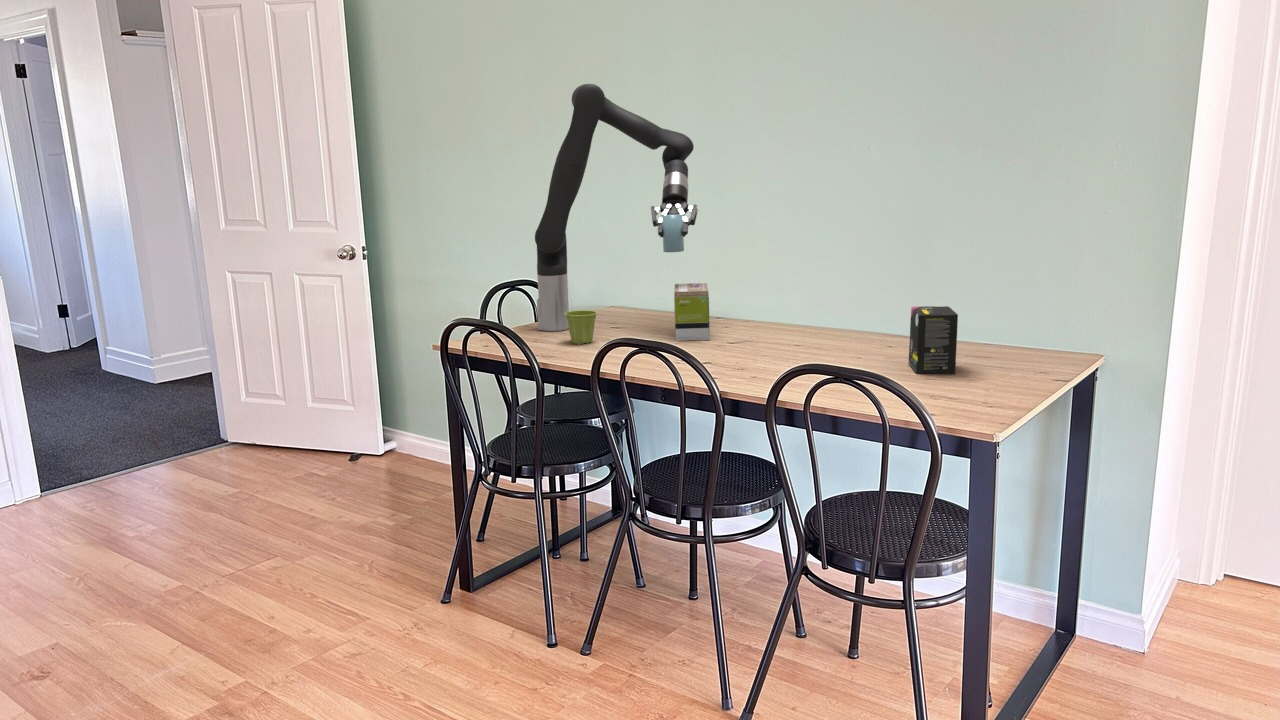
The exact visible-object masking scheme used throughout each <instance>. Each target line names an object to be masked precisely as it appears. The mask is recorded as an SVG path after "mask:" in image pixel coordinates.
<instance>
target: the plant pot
mask: <svg viewBox="0 0 1280 720" xmlns="http://www.w3.org/2000/svg"><path fill="white" fill-rule="evenodd" d="M565 315H566V318H567V320H568V325H569V329H568V331H569V335H570V341H571V343H572V344H575V345H577V344H579V345H583V344H590V343H589V342H591V343H592V342H593V341H594V333H595V332H594V329H595V323H596V321H595V320H596V318H597V315H598V311H596V310H586V309H585V310H584V309H582V310H581V309H579V310H578V309H577V310H569V312H565Z"/></svg>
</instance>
